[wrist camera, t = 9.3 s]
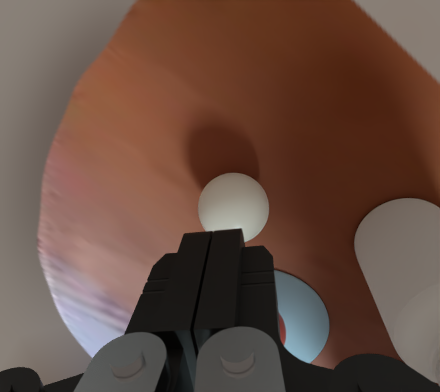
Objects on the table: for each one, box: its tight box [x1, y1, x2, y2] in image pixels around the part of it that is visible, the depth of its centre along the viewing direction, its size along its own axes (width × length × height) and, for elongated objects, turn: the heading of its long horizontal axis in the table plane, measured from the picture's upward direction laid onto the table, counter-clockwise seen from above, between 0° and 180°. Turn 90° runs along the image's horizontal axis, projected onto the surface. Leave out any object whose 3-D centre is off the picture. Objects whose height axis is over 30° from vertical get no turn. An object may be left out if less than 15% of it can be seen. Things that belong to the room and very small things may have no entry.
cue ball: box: [198, 173, 269, 242], centre depth 29 cm, size 6×6×6 cm
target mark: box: [274, 270, 329, 363], centre depth 38 cm, size 14×14×1 cm
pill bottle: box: [354, 198, 440, 386], centre depth 26 cm, size 8×8×15 cm
